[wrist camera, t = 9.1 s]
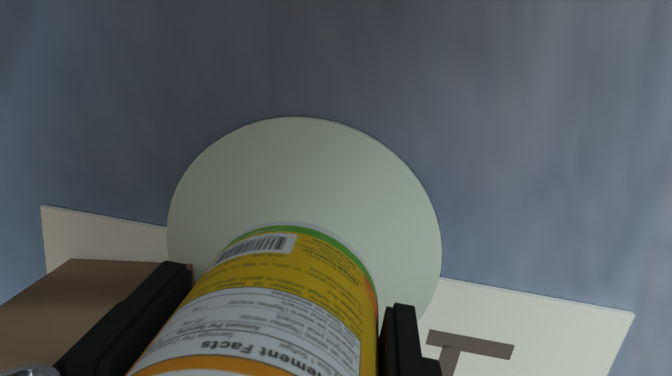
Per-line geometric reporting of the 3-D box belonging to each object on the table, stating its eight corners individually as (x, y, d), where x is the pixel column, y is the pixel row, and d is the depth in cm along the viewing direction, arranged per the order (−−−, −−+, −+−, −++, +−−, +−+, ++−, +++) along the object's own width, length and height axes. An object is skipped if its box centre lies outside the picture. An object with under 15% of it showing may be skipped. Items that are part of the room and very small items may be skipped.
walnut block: (70, 258, 16) (-103, 375, 10) (192, 263, 15) (76, 392, 10) (99, 361, 18) (-37, 509, 12) (209, 370, 17) (119, 531, 11)
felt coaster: (173, 93, 14) (167, 94, 13) (472, 143, 13) (474, 146, 13) (169, 335, 17) (165, 342, 17) (408, 382, 17) (409, 390, 16)
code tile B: (44, 204, 16) (39, 206, 15) (249, 242, 15) (247, 244, 15) (60, 369, 18) (56, 373, 18) (235, 404, 18) (233, 408, 18)
